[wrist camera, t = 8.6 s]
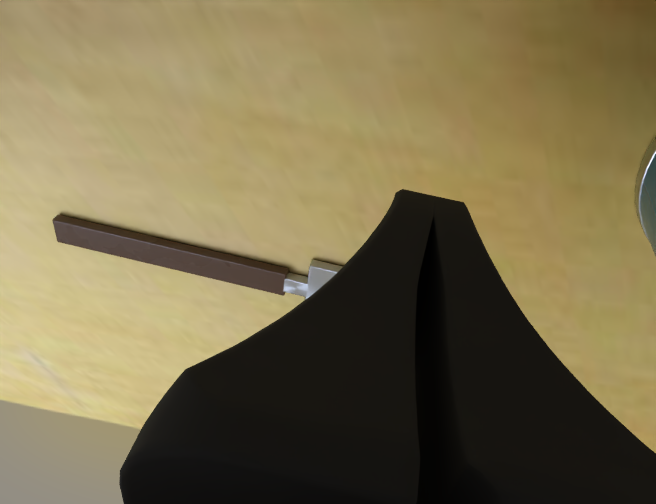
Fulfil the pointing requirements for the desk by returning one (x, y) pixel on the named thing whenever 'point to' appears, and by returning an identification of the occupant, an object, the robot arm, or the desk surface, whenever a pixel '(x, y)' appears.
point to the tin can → (647, 194)
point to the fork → (192, 258)
